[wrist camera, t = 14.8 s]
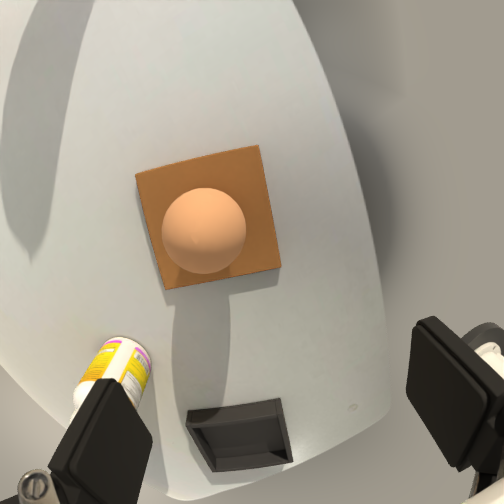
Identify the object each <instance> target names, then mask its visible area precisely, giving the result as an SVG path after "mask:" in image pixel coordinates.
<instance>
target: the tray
mask: <svg viewBox="0 0 504 504" xmlns="http://www.w3.org/2000/svg"><path fill="white" fill-rule="evenodd" d="M186 427H187V429H188V431H189V433H190V435H191V436H192V438H193V440H194V442H195V444H196V445H197V447H198V449H199V451H200V452H201V454H202V456H203V457H204V459H205V461H206V462H207V464H208V466H209V467H210V469H211V471H212V472H225V471H236V470H246V469H254V468H261V467H268V466H275V465H280V464H286V463H291V462H293V457H292V451H291V446H290V442H289V437H288V432H287V428H286V423H285V418H284V414H283V409H282V404H281V399H280V398H278V399H273V400H267V401H261V402H256V403H249V404H243V405H236V406H229V407H221V408H213V409H203V410H193V411H188V414H187V420H186Z"/></svg>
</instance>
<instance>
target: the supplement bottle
mask: <svg viewBox="0 0 504 504" xmlns="http://www.w3.org/2000/svg"><path fill="white" fill-rule="evenodd" d="M150 371H151V361H150V358H149V356H148V354H147V352H146V351H145V350H144V349H143V348H142V347H141V346H140V345H139V344H138V343H136V342H134V341H132V340H130V339H127V338H122V337H116V338H112V339H109V340H108V341H106V342H105V343H104V344H103V346H102V347H101V349H100V350H99V352H98V353H97V355H96V356H95V358H94V360H93V361H92V363H91V364H90V366H89V367H88V369H87V371H86V372H85V374H84V376H83V377H82V379H81V380H80V382H79V384H78V385H77V387H76V389H75V391H74V394H73V402H74V406H75V408H76V410H75V411H74V412H73V414H72V416H71V418H70V424H71V422H72V420H73V419H74V417H75V415H76V413H77V412H78V410H79V408H80V406H81V405H82V403H83V401H84V400H85V398H86V396H87V395H88V393H89V391H90V389H91V388H92V386H93V385H94V383H95V381H96V380H97V379H99V378H114V379H115V380H116V381H117V382H119V383H121V385H122V386H123V388H124V390H125V392H126V393H127V395H128V397H129V399H130V401H131V402H132V404H133V406H134V408H135V409H136V411H137V408H138V405H139V403H140V400H141V397H142V394H143V391H144V389H145V386H146V383H147V380H148V377H149V374H150Z"/></svg>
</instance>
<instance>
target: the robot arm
mask: <svg viewBox="0 0 504 504" xmlns="http://www.w3.org/2000/svg"><path fill="white" fill-rule="evenodd" d="M406 394H407V397H408V399H409V400H410V402H411V404H412V405H413V406H414V408H415V410H416V411H417V413H418V414H419V416H420V418H421V419H422V421H423V422H424V424H425V426H426V427H427V429H428V430H429V432H430V434H431V435H432V437H433V439H434V440H435V442H436V443H437V445H438V447H439V448H440V450H441V452H442V453H443V455H444V457H445V458H446V460H447V462H448V464H450V466H451V467H456V468H457V470H458V472H461V471H463V470H464V469H466V468H468V467H470V466H471V465H472V466H473V468H474V469H475V471H476V472H475V477H474V480H473V485H472V488H471V491H470V495H469V499H468V500H466V501H464V502H462V503H461V504H504V357H503V356H502V355H501V350H500V347H499V346H498V345H497V344H496V343H494V342H489V343H485V344H483V345H482V346H480V347H479V348H477V349H476V350H475V351H474V350H473V349H472V348H470V347H469V346H468V345H467V344H466V343H465V342H464V341H463V340H462V339H461V338H459V337H458V336H457V335H456V334H455V333H454V332H453V331H452V330H450V329H449V328H448V327H447V326H446V325H445V324H444V323H443V322H441V321H440V320H439V319H438V318H437V317H435V316H430V317H428V318H425V319H422V320H419V321H418V322H417V324H416V326H415V327H414V328H413V329H412V339H411V351H410V361H409V369H408V378H407V384H406ZM152 443H153V440H152V436H151V434H150V432H149V431H148V429H147V428H146V426H145V424H144V423H143V421H142V419H141V418H140V416H139V414H138V413H137V411H136V409H135V408H134V406H133V404H132V402H131V401H130V399H129V397H128V395H127V393H126V392H125V390H124V388H123V386H122V385H121V383H119V382H117V381H116V380H115V379H114V378H99V379H97V380H96V381H95V383H94V385H93V386H92V388H91V389H90V391H89V393H88V395H87V396H86V398H85V400H84V401H83V403H82V405H81V406H80V408H79V410H78V412H77V413H76V415H75V417H74V419H73V420H72V422H71V424H70V426H69V427H68V429H67V431H66V433H65V435H64V436H63V438H62V440H61V442H60V444H59V446H58V447H57V449H56V452H55V453H54V455H53V457H52V459H51V461H50V463H49V464H48V468H49V469H50V470H51V471H52V472H51V474H48V473H47V472H46V471H44V470H41V469H35V470H31V471H29V472H27V473H26V474H25V475H23V476H22V478H21V479H20V481H19V483H18V495H15V496H13V497H11V498H8V499H5V500H3V501H1V502H0V504H137V500H138V497H139V493H140V489H141V485H142V481H143V477H144V474H145V470H146V466H147V462H148V459H149V455H150V451H151V448H152Z"/></svg>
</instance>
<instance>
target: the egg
mask: <svg viewBox="0 0 504 504" xmlns="http://www.w3.org/2000/svg"><path fill="white" fill-rule="evenodd" d="M245 238H246V222H245V218H244V215H243V213H242V210H241V208H240V207H239V206H238V204H237V203H236V202H235V201H234V200H233V199H232V198H231V197H230V196H229V195H227V194H226V193H224V192H222V191H219V190H216V189H212V188H198V189H194V190H191V191H189V192H186V193H184V194H182V195H181V196H180V197H178V198H177V199H176V200H175V201H174V202H173V203H172V204H171V205H170V207H169V208H168V210H167V211H166V214H165V216H164V219H163V224H162V241H163V245H164V247H165V250H166V252H167V253H168V255H169V257H170V258H171V259H172V260H173V262H174V263H176V264H177V265H178V266H180V267H181V268H182V269H185V270H187V271H190V272H192V273H198V274H209V273H214V272H218V271H220V270H222V269H224V268H226V267H227V266H228V265H230V264H231V263H232V262H233V261H234V260H235V259H236V257H237V256H238V255H239V254H240V252H241V250H242V248H243V245H244V242H245Z"/></svg>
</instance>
